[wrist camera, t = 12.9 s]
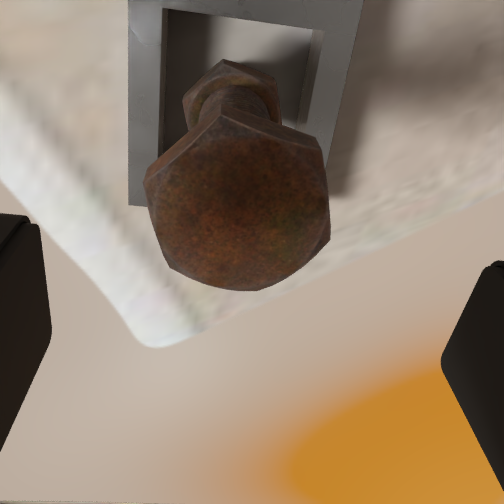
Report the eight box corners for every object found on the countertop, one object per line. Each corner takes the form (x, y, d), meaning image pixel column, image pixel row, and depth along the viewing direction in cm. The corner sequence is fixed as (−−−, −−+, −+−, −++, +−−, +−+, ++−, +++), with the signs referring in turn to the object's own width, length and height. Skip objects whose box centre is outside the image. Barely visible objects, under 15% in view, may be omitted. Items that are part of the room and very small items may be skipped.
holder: (348, -5, 24) (364, -1, 21) (305, 200, 30) (313, 222, 27) (138, -37, 23) (127, -37, 20) (136, 183, 29) (128, 204, 26)
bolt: (297, 67, 26) (373, 171, 13) (264, 151, 28) (299, 310, 15) (194, 26, 24) (164, 98, 11) (169, 118, 27) (120, 262, 14)
